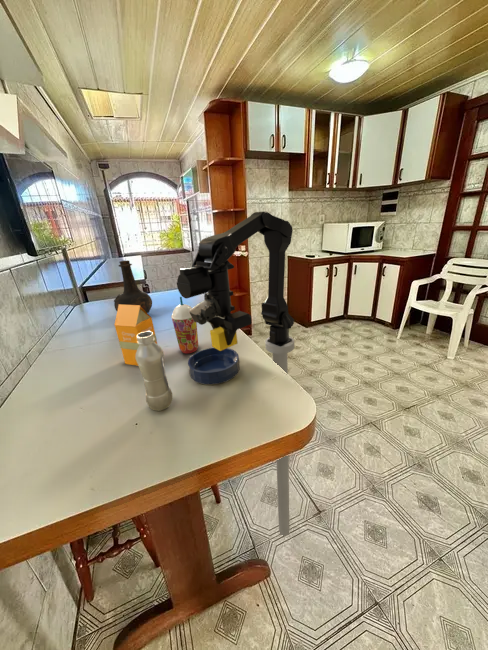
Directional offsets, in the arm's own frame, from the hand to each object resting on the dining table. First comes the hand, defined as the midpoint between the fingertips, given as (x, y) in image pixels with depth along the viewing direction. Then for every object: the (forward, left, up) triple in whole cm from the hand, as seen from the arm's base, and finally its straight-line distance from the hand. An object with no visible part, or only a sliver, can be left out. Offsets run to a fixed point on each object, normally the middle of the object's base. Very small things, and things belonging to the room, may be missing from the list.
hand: (224, 342), depth 75 cm
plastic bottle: (+20, -2, -11) cm, 23 cm away
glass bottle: (-2, -80, -11) cm, 81 cm away
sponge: (0, 0, -1) cm, 1 cm away
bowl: (+1, -5, -11) cm, 12 cm away
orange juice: (+14, -30, -11) cm, 35 cm away
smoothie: (-1, -24, -11) cm, 26 cm away
